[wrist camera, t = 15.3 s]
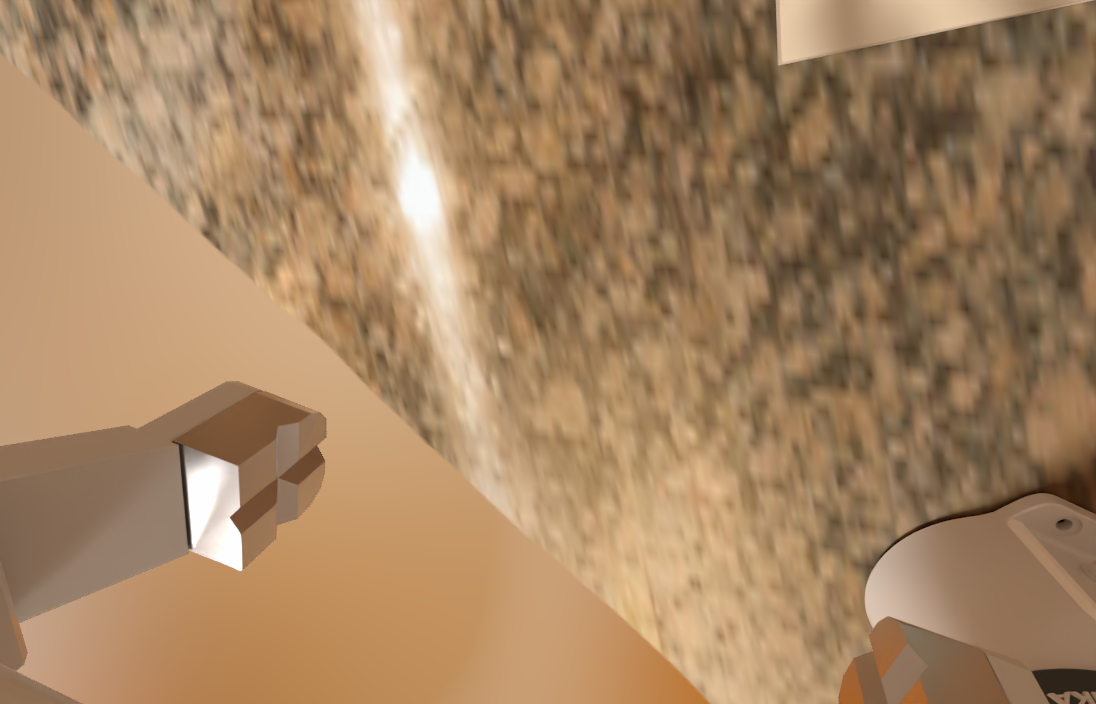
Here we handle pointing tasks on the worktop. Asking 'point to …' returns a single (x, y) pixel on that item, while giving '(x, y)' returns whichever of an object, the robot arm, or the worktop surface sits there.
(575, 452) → the worktop surface
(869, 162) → the worktop surface
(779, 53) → the pin board
